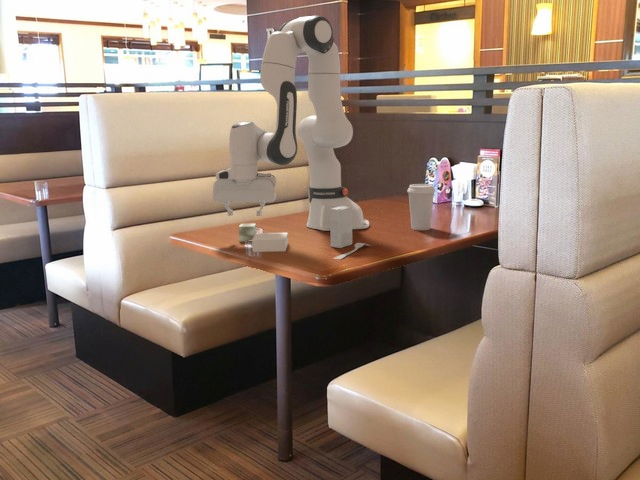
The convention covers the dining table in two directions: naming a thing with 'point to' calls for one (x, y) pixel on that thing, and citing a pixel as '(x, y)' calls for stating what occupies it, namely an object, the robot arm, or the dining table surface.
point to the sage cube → (247, 231)
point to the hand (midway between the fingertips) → (244, 215)
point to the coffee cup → (421, 205)
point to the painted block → (269, 242)
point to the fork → (351, 251)
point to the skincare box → (341, 226)
